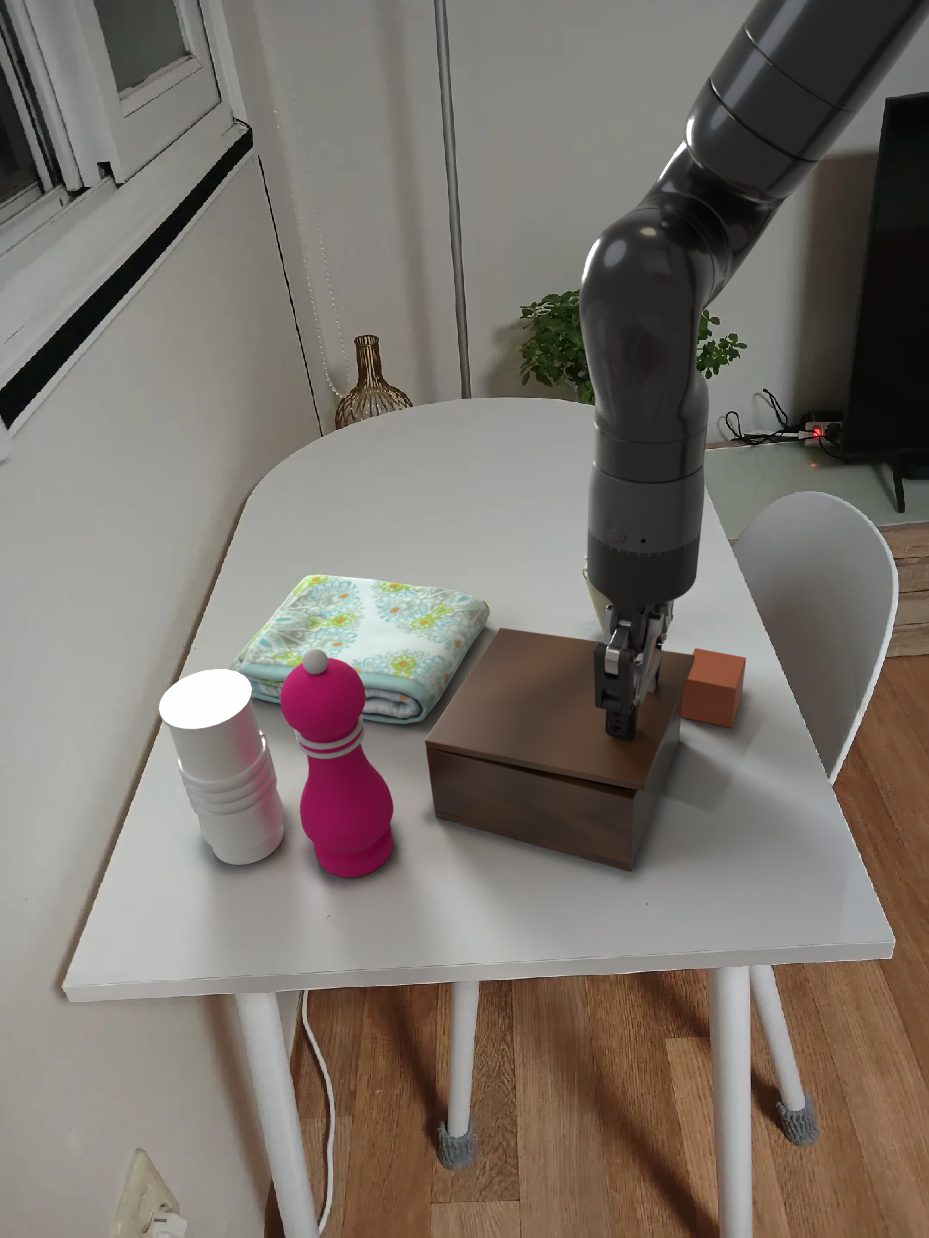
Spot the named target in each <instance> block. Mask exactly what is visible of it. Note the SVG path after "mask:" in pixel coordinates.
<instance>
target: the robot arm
mask: <svg viewBox="0 0 929 1238" xmlns="http://www.w3.org/2000/svg"><path fill="white" fill-rule="evenodd" d="M928 18H929V0H757V1H756V2H755V4H754V5H753V7H752V8H751V10H750V12H749V13H748V15H747V16H746V18H745V20H744V21H743V22H742V24H741V25H740V27H739V28H738V30H737V32H736V33H735V34H734V36H733V38H732V39H731V41H730V43H729V44H728V46H727V47H726V49H725V50H724V52H723V53H722V55H721V56H720V58H719V60H718V61H717V63H716V64H715V66H714V67H713V69H712V71H711V72H710V75H709V76H708V77H707V79H706V81H705V82H704V83H703V85H702V87H701V89H700V90H699V92H698V94H697V96H696V97H695V100H694V101H693V104H691V107H690V109H689V111H688V114H687V116H686V119H685V122H684V128H683V138H682V140H681V141H680V143H679V145H678V146H677V148H676V149H675V150H674V153H672V155H671V158H669V160H668V162H667V164H666V165H665V166H664V168H663V170H662V171H661V172H660V174H659V176H658V178H656V180H655V182H654V183H653V184H652V186H651V187H650V188H649V190H648V191H647V193H646V194H645V195H644V197H643V198H642V200H640V201H639V203H638V204H637V205H636V206H635V207H633V208H632V209H631V210H629V211H628V212H627V213H625V214H624V215H623V216H621V217H619V218H618V219H617V220H615V221H614V222H612V223H611V224H610V225H608V226H607V227H606V228H605V229H603V231H602V232H600V234H599V235H598V236H597V237H596V239H595V240H594V242H593V243H592V245H591V246H590V248H589V250H588V253H587V255H586V258H585V261H584V265H583V267H582V272H581V278H580V283H579V293H578V294H579V297H578V311H579V323H580V330H581V336H582V337H581V338H582V343H583V347H584V353H585V357H586V364H587V369H588V375H589V378H590V381H591V385H592V386H591V387H592V388H593V392H594V397H595V399H594V401H595V403H594V412H593V413H594V414H593V443H592V444H593V445H592V446H593V447H592V466H591V472H590V476H589V477H590V478H589V485H588V495H587V496H588V497H587V546H586V547H587V549H586V550H587V551H586V552H587V553H586V556H587V560H586V563H587V575H588V578H589V581H590V582H591V584H592V585H593V587H594V588H595V589H596V590H598V591H599V592H600V593H601V594H603V595H604V596H605V597H606V598H607V599H608V600H609V601H610V602H611V603H612V604H610V603H609V604H608V605H607V608H606V612H605V618H604V627H605V629H606V633H605V638H604V641H603V642H604V644H602V643H597V645H596V647H595V648H594V652H593V654H594V678H595V707H597V708H601V709H605V710H606V724H605V731H606V733H607V734H608V735H609V736H612V737H616V738H620V739H624V740H633V739H634V736H635V734H636V731H637V716H638V702H639V701H640V697H641V695H640V690H641V684H642V678H643V676H645V675H646V674H647V673H648V672H649V671H650V670H651V667H652V662H653V656H654V650H655V647H656V648H657V649H659V650H660V652H661V651H663V645H664V644H665V641H667V639H668V634H667V633H668V631H669V627H670V625H671V622H673V619H674V614H673V611H674V604H675V600H677V599H680V597H682V596H684V595H685V594H687V593H688V592H689V590H690V589H691V588H693V586H694V584H695V581H696V579H697V574H698V563H699V554H700V542H701V532H702V525H703V514H704V513H703V511H704V504H705V487H706V486H705V470H704V465H705V464H704V463H705V454H706V444H707V433H708V423H709V410H710V409H709V408H710V399H709V397H710V396H709V386H708V384H707V382H706V378H705V377H704V375H703V374H702V373H701V372H700V371H699V370H698V369H697V362H698V361H697V357H698V356H697V355H698V353H697V352H698V351H697V350H698V335H699V329H700V323H701V319H702V315H703V314H702V313H704V311H705V310H706V309H707V308H708V307H709V306H710V305H711V303H713V302H714V301H715V300H716V298H717V297H718V296H719V295H720V294H721V292H722V291H723V290H724V288H726V286H727V285H728V283H730V281H731V279H732V278H733V277H734V276H735V274H736V273H737V271H738V270H739V268H741V265H742V264H743V263H744V261H745V260H746V259H747V257H748V256H749V254H750V253H751V252H752V250H753V249H754V248H755V246H756V245H757V244H758V242H759V240H760V239H761V237H762V235H764V233H765V231H766V230H767V228H768V227H769V225H770V223H771V222H772V221H773V219H774V218H775V216H776V214H777V213H778V212H779V210H780V209H781V207H782V205H783V204H784V202H785V201H786V199H788V198H789V197H790V196H791V195H792V194H793V193H794V192H795V191H796V190H797V189H798V187H800V186H801V185H802V184H803V183H804V182H805V180H806V179H807V178H808V177H809V176H810V175H811V174H812V173H813V172H814V170H815V169H816V168H817V166H818V165H819V164H820V163H821V162H822V160H823V159H824V158H825V157H826V155H827V154H828V153H829V151H830V150H831V149H832V147H834V146H835V145H836V143H837V142H838V140H839V139H840V137H842V136H843V134H844V132H845V131H846V130H847V129H848V127H849V126H850V125H851V123H853V120H854V119H856V117H857V116H858V114H859V113H860V112H861V110H862V109H863V108H864V107H865V106H866V104H867V103H868V101H869V100H870V99H871V97H873V95H874V94H875V92H877V90H878V88H879V87H880V86H881V84H882V83H883V82H884V80H885V79H886V78H887V77H888V75H889V74H890V72H891V71H892V69H894V67H895V66H896V64H897V63H898V61H899V60H900V58H902V56H903V54H904V53H905V52H906V50H907V49H908V47H909V46H910V44H911V43H912V42H913V40H914V39H915V37H916V35H918V33H919V31H920V30H921V28H922V27H923V26H924V24H925V23H926V21H927V20H928ZM641 653H643V660H642V661H636V658H637V656H638V654H641ZM660 663H661V662H660ZM659 676H660V665H659V667H658V669H657V672H656V674H655V682H656V684H657V682H658V680H659Z"/></svg>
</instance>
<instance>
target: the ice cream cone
mask: <svg viewBox="0 0 929 1238" xmlns="http://www.w3.org/2000/svg"><path fill="white" fill-rule="evenodd" d="M583 559H584V560H585V561H587V555H584V556H583ZM581 575H582V577H583V579H584V581H585V584H586V587H587V590H588V592H589V596H590V599H591V602H592V605H593V608H594V611H595V614H596V617H597V620H598V623H599V626H600V628H601V632H602V634H603V638H604V639H605V633H606V629H605V627H604V618H605V612H606V608H607V605H608V604H609V603H610V604H612V603H611V602H610V601H609V600H608V599H607V598H606V597H605V596H604V595H603V594H601V593H600V592H599V591H598V590H596V589H595V588H594V587H593V585H592V584H591V582H590V581H589V578H588V575H587V562H586V563H585V564H584V566H583V568H582V570H581Z"/></svg>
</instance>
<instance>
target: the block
mask: <svg viewBox="0 0 929 1238" xmlns="http://www.w3.org/2000/svg"><path fill="white" fill-rule="evenodd" d="M691 655H694V656H695V662H694V664H693V667H692V669H691V672H690V674H689V677H688V680H687V682H686V685H685V687H684V690H683V696H682V710H681V718H683V719H684V718H685V719H689V720H693V721H698V722H702V723H708V724H711V725H715V726H716V725H717V726H722V727H725V728H726V727H727V728H731V729H732V728H733V726H734V722H735V720H736V716H737V712H738V709H739V707H740V703H741V700H742V697H743V686H744V680H745V679H744V678H745V670H746V661H747V658H746V657H744V656H739V655H735V654H728V653H723V652H719V651H713V650H707V649H703V648H702V649H701V648H697V647H695V648H694V650H693V652H692V654H691Z"/></svg>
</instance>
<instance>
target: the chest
mask: <svg viewBox="0 0 929 1238" xmlns="http://www.w3.org/2000/svg"><path fill="white" fill-rule="evenodd" d="M682 696H683V693H682V695H681V698H680V700H679V703H678V706H677V708H676V711H675V713H674V716H673V718H672V721H671V724H670V726H669V729H668V731H667V734H666V737H665V739H664V742H663V744H662V747H661V750H660V752H659V755H658V757H657V760H656V762H655V765H654V768H653V770H652V773H651V775H650V778H649V781H648V783H647V786H646V788H645V791H641V790H636V789H631V788H626V787H621V786H616V785H611V784H607V783H602V782H597V781H592V780H587V779H582V778H577V777H572V776H567V775H562V774H557V773H552V772H547V771H542V770H537V769H532V768H527V767H522V766H518V765H513V764H508V763H503V762H498V761H493V760H488V759H483V758H478V757H473V756H468V755H463V754H458V753H453V752H448V751H443V750H438V749H433V748H429V747H426V746H425V750H426V751H425V752H426V759H427V766H428V767H427V768H428V773H429V781H430V788H431V795H432V802H433V809H434V817H436V818H439V819H443V820H446V821H449V822H453V823H457V824H460V825H464V826H468V827H472V828H475V829H477V830H482V831H485V832H490V833H492V834H495V835H499V836H504V837H506V838H510V839H514V840H517V841H520V842H524V843H527V844H531V845H535V846H538V847H543V848H545V849H549V850H553V851H556V852H560V853H563V854H567V855H570V856H574V857H578V858H581V859H583V860H584V859H585V860H588V861H592V862H595V863H599V864H603V865H606V866H610V867H613V868H617V869H620V870H624V871H627V872H631V871H632V870H633V866H634V865H635V861H636V858H637V855H638V853H639V850H640V848H641V845H642V842H643V840H644V837H645V834H646V832H647V828H648V826H649V824H650V821H651V818H652V815H653V813H654V809H655V806H656V804H657V802H658V798H659V796H660V793H661V791H662V788H663V785H664V782H665V779H666V778H667V774H668V772H669V769H670V766H671V764H672V761H673V758H674V755H675V752H676V749H677V748H678V744H679V741H680V737H681V724H682V723H681V722H682V717H681V710H682Z"/></svg>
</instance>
